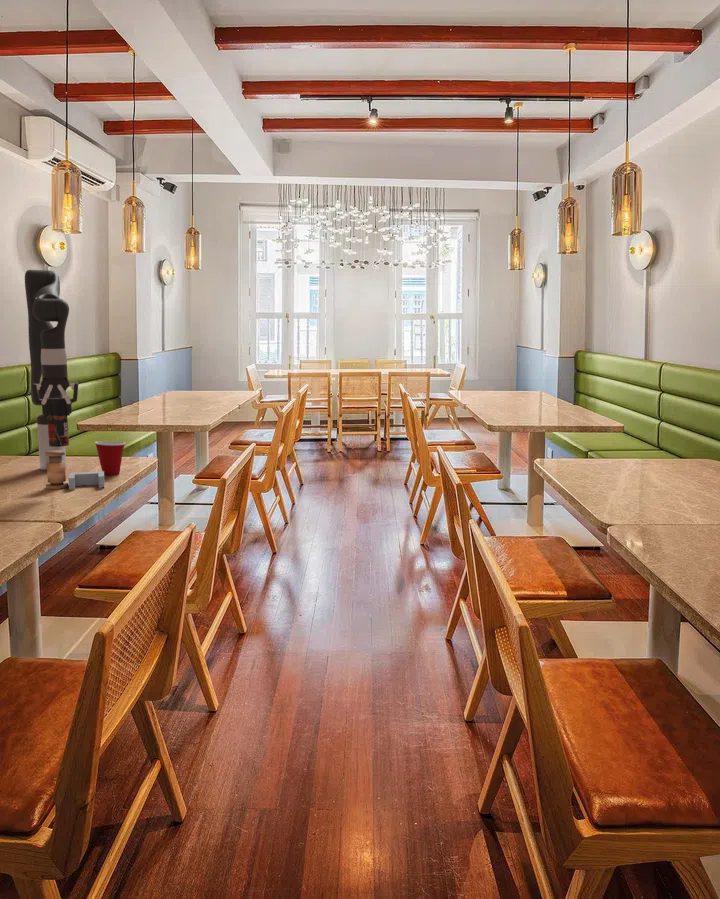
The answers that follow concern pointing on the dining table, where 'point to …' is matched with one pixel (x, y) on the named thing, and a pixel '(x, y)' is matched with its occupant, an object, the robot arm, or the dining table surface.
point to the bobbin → (56, 470)
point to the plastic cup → (110, 456)
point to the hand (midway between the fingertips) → (57, 415)
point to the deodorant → (57, 422)
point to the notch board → (86, 479)
